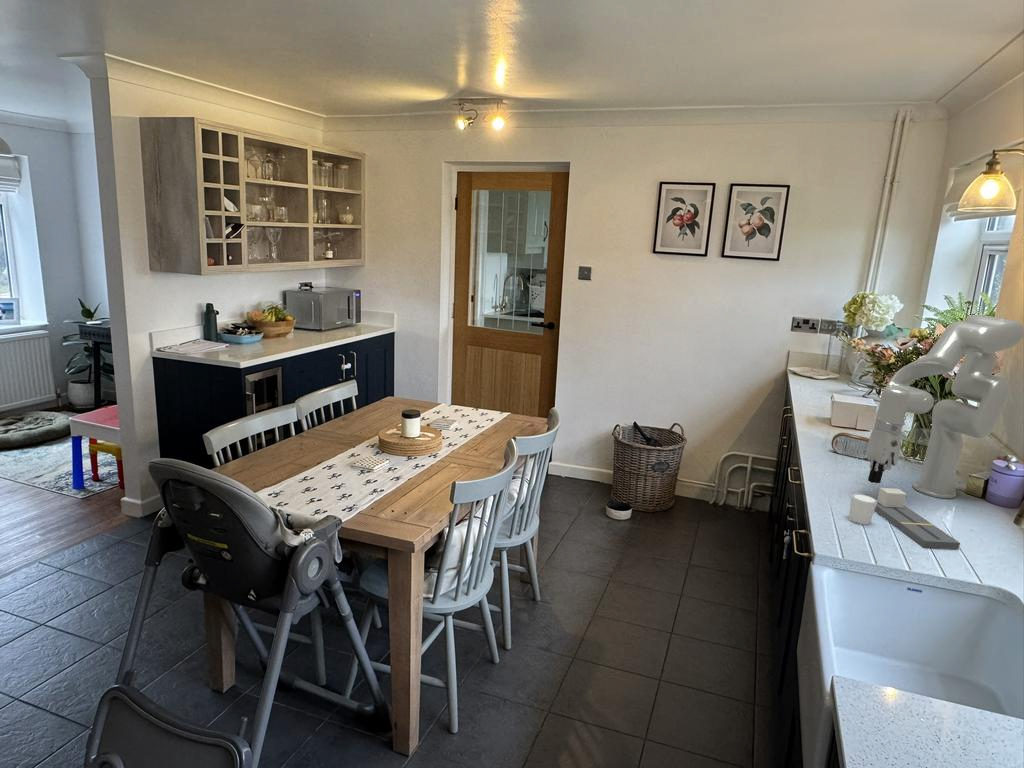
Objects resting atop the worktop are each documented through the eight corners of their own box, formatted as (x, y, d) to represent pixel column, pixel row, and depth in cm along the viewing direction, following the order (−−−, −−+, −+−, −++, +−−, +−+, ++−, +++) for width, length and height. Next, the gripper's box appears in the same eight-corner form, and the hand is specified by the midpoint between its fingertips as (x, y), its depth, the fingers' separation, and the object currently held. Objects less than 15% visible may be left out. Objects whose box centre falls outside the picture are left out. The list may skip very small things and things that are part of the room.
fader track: (865, 504, 212) (866, 498, 212) (895, 506, 213) (897, 500, 212) (923, 547, 185) (925, 540, 185) (958, 549, 186) (960, 542, 185)
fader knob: (876, 501, 210) (880, 487, 209) (895, 502, 210) (898, 488, 209) (884, 506, 206) (887, 492, 205) (903, 507, 206) (906, 494, 205)
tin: (872, 460, 257) (877, 439, 255) (872, 462, 254) (876, 441, 252) (830, 450, 264) (834, 429, 262) (828, 452, 262) (833, 431, 260)
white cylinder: (870, 518, 202) (875, 496, 200) (874, 527, 196) (879, 504, 194) (845, 513, 204) (850, 491, 202) (848, 522, 198) (853, 499, 196)
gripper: (914, 435, 205) (899, 492, 209) (884, 420, 219) (871, 474, 223) (891, 433, 204) (876, 490, 208) (862, 418, 218) (849, 472, 223)
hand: (873, 481), depth 216 cm, fingers closed
